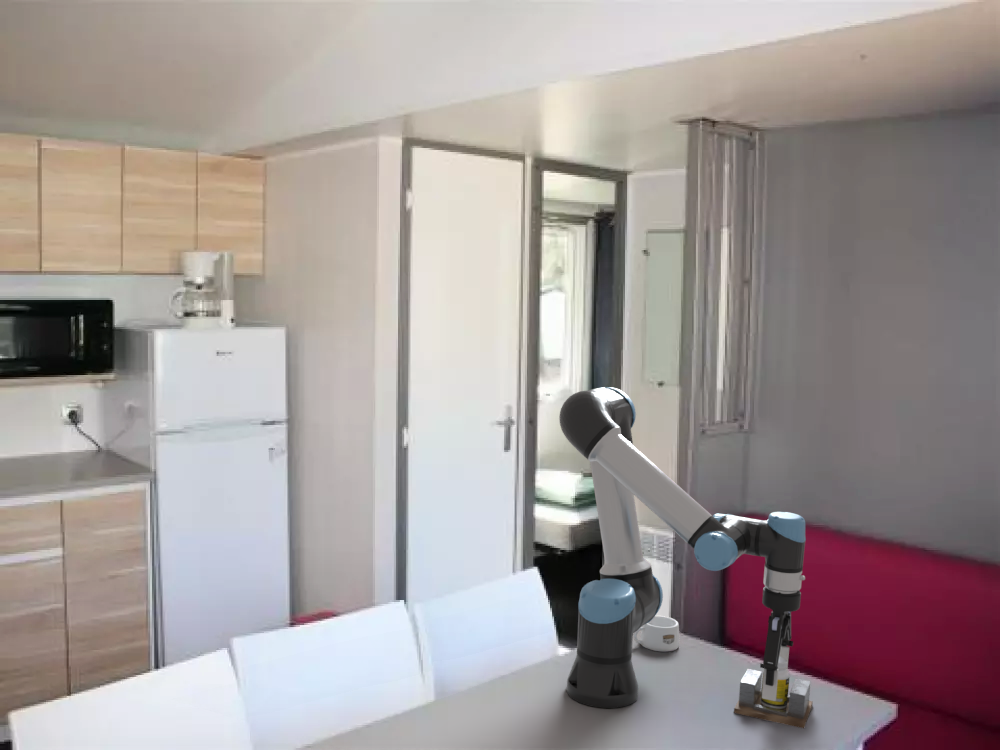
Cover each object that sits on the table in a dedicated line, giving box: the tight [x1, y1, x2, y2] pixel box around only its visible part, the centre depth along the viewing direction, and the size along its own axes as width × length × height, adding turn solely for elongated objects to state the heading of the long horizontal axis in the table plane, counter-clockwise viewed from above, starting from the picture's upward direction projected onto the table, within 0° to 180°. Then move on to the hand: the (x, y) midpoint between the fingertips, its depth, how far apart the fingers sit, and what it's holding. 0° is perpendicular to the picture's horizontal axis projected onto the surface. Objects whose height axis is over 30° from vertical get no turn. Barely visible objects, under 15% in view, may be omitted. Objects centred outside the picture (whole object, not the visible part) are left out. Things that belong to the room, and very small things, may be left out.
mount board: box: [733, 693, 813, 729], centre depth 204 cm, size 14×12×1 cm
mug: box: [633, 615, 681, 653], centre depth 237 cm, size 12×10×6 cm
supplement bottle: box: [761, 657, 791, 709], centre depth 203 cm, size 5×5×10 cm
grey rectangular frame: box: [738, 668, 812, 719], centre depth 203 cm, size 13×9×5 cm
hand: (774, 687), depth 203 cm, fingers open, 13 cm apart
